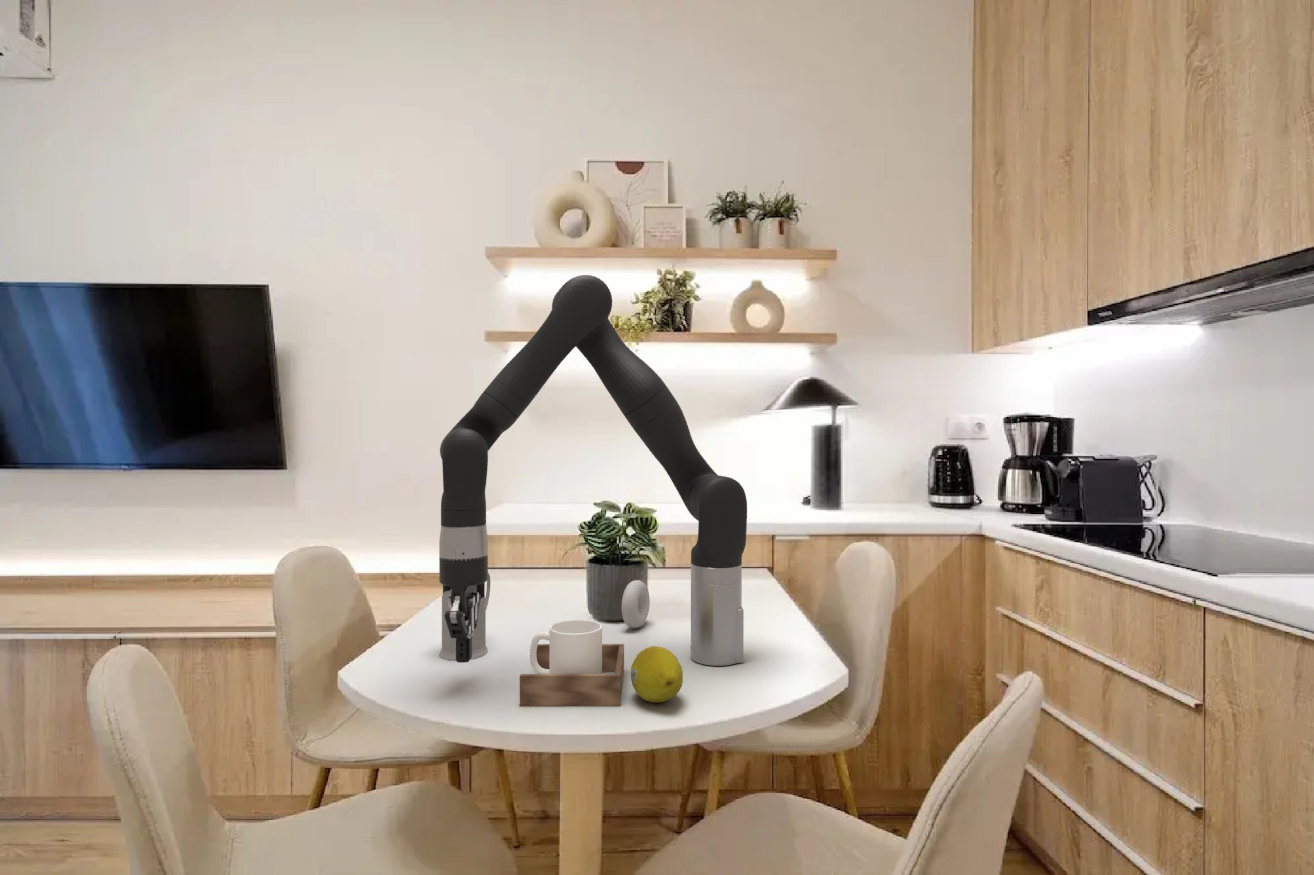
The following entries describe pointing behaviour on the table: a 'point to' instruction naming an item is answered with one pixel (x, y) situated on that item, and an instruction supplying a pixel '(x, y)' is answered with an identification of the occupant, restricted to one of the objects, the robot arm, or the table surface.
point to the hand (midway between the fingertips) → (464, 660)
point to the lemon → (656, 674)
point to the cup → (571, 648)
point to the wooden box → (575, 682)
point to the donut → (635, 604)
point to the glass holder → (479, 633)
